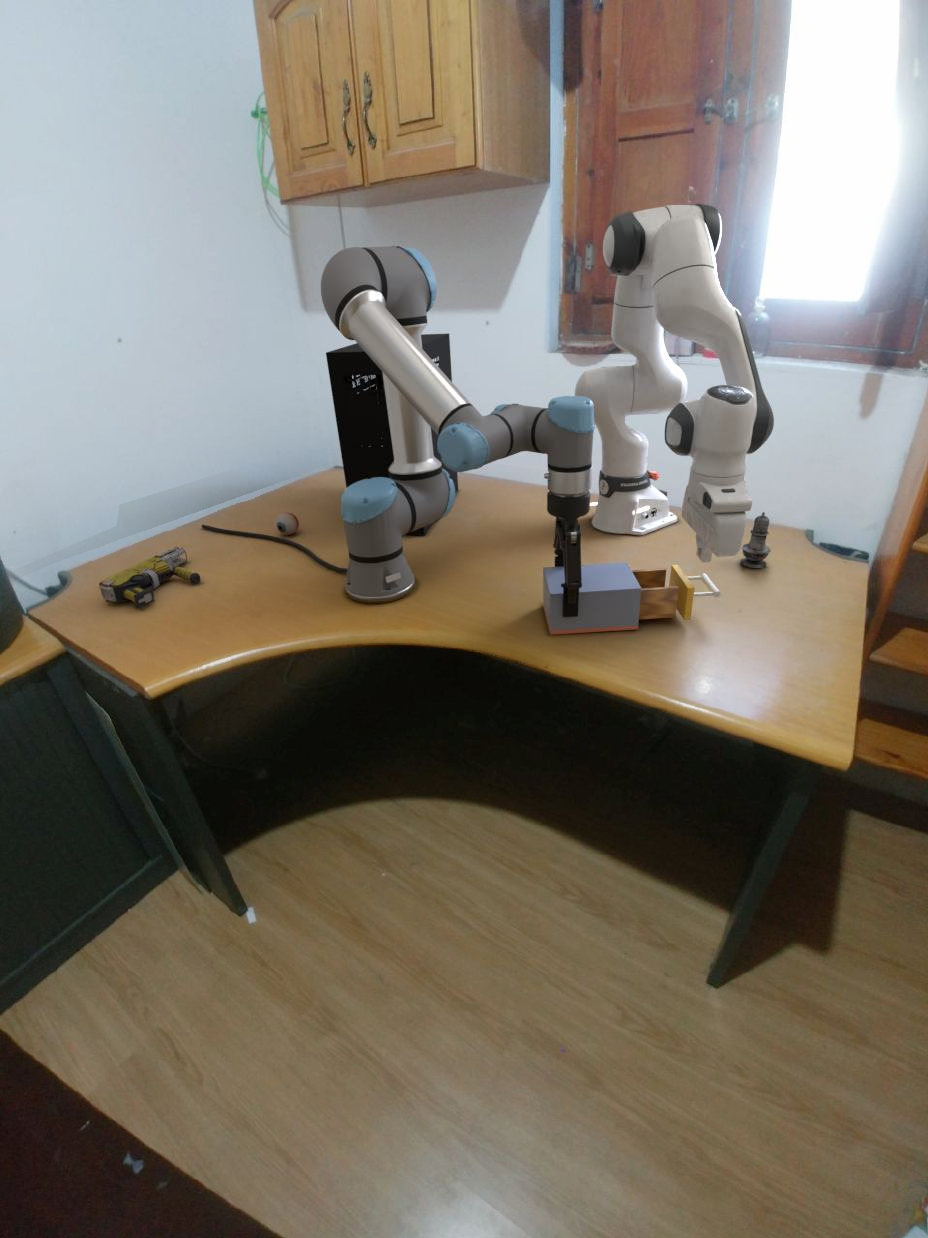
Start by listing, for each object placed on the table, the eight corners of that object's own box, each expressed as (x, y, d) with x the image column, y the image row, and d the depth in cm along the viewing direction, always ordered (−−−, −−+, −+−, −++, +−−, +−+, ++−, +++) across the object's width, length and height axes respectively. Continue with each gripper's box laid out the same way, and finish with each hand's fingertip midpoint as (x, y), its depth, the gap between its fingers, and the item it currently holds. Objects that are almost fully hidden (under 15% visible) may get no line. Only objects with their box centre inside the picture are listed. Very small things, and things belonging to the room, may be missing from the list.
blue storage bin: (624, 600, 123) (626, 561, 118) (638, 629, 113) (641, 588, 109) (543, 605, 123) (543, 567, 119) (550, 634, 114) (550, 594, 109)
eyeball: (273, 537, 164) (268, 516, 161) (287, 528, 169) (282, 508, 166) (291, 539, 161) (286, 518, 158) (305, 530, 166) (301, 510, 163)
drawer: (701, 593, 121) (705, 562, 118) (719, 618, 112) (725, 586, 109) (597, 599, 122) (599, 569, 119) (608, 625, 113) (610, 593, 110)
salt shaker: (770, 569, 132) (782, 517, 126) (741, 568, 133) (751, 516, 127) (764, 558, 137) (775, 507, 131) (736, 557, 138) (746, 507, 132)
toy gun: (223, 554, 147) (173, 544, 151) (148, 595, 127) (92, 582, 131) (226, 572, 149) (177, 561, 153) (152, 615, 129) (97, 601, 133)
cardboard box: (424, 535, 159) (408, 350, 137) (353, 532, 164) (325, 352, 141) (458, 489, 191) (449, 333, 168) (397, 488, 195) (380, 335, 173)
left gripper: (540, 472, 116) (539, 574, 127) (556, 515, 95) (553, 633, 106) (579, 470, 116) (575, 572, 126) (603, 513, 95) (596, 631, 106)
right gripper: (678, 470, 114) (669, 538, 121) (717, 506, 96) (704, 584, 103) (712, 468, 114) (701, 536, 121) (757, 504, 96) (741, 582, 103)
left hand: (565, 600), depth 116 cm, fingers closed on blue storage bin, 11 cm apart
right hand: (703, 559), depth 112 cm, fingers closed
